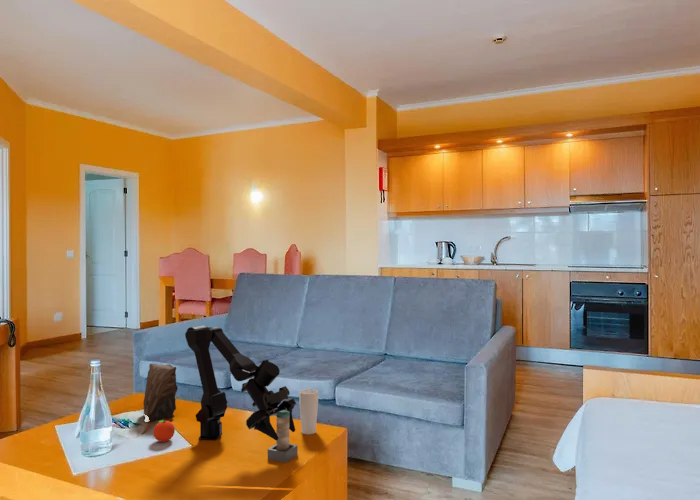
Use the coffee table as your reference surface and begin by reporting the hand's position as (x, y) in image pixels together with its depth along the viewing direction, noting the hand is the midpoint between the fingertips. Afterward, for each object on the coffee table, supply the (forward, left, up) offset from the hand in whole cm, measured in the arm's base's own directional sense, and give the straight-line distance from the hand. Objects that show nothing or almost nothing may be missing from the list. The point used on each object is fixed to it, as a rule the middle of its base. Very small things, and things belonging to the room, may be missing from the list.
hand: (286, 435), depth 160 cm
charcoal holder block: (-1, +1, -8) cm, 8 cm away
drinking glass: (+4, +23, -8) cm, 24 cm away
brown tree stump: (-58, +35, -8) cm, 68 cm away
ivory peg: (-1, +1, -7) cm, 7 cm away
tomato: (-45, +12, -8) cm, 47 cm away
